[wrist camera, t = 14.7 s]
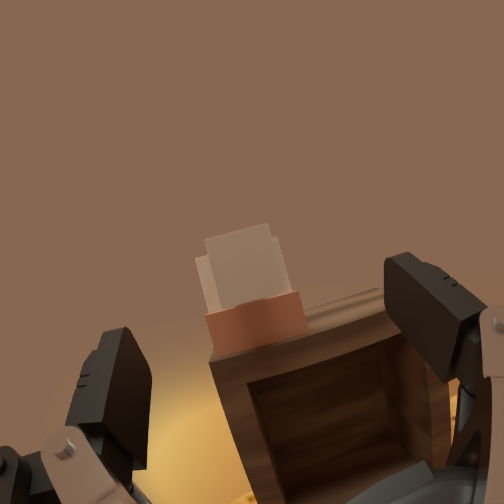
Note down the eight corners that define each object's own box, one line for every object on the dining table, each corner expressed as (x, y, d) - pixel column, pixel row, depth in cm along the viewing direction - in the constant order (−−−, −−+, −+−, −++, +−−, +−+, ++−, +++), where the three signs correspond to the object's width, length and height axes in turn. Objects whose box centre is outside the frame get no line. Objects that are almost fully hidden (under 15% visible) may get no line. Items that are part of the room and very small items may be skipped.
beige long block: (337, 301, 12) (309, 198, 12) (181, 343, 12) (154, 238, 12) (277, 288, 32) (266, 248, 32) (217, 304, 31) (207, 264, 32)
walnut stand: (443, 547, 19) (434, 290, 21) (301, 601, 18) (208, 362, 20) (405, 500, 31) (374, 288, 33) (288, 541, 30) (219, 333, 32)
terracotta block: (308, 332, 22) (298, 290, 22) (217, 357, 21) (205, 315, 22) (292, 320, 29) (283, 288, 29) (221, 339, 28) (212, 307, 29)
